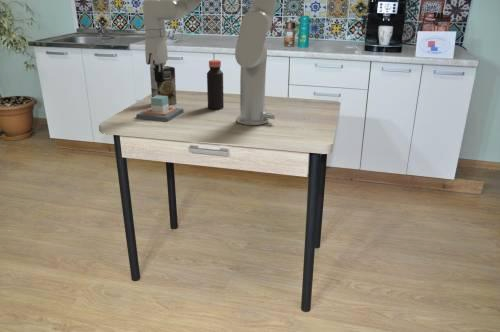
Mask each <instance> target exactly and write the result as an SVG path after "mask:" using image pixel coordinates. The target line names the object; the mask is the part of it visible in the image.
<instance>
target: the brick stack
mask: <svg viewBox="0 0 500 332" xmlns="http://www.w3.org/2000/svg"><path fill="white" fill-rule="evenodd" d="M150 105H151V106H150V107H152V112H160V113H165V112H167V111H169V107H170V105H168V96H161V95H156V96H154V97H152V96H151V97H150Z"/></svg>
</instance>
